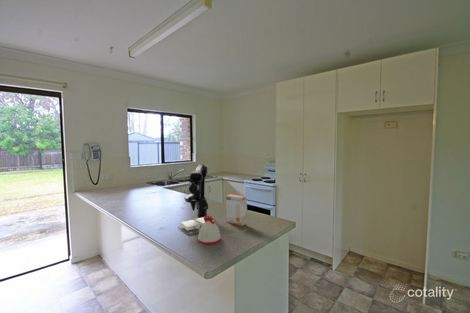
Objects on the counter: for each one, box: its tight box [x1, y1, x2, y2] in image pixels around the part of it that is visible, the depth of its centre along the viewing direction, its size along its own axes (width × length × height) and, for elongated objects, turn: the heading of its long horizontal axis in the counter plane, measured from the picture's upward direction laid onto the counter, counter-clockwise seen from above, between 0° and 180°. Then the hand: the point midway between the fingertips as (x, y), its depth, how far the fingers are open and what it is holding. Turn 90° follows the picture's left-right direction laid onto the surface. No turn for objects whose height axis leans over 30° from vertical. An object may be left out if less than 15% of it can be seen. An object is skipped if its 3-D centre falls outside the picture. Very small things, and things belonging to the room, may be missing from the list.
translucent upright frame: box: [225, 193, 247, 227], centre depth 160 cm, size 14×6×21 cm, turn 52°
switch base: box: [177, 225, 201, 236], centre depth 151 cm, size 22×16×1 cm
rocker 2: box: [194, 217, 215, 226], centre depth 155 cm, size 9×12×2 cm
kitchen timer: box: [197, 215, 222, 246], centre depth 133 cm, size 14×14×15 cm
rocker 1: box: [180, 219, 200, 230], centre depth 148 cm, size 9×12×2 cm
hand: (196, 211), depth 153 cm, fingers open, 9 cm apart
